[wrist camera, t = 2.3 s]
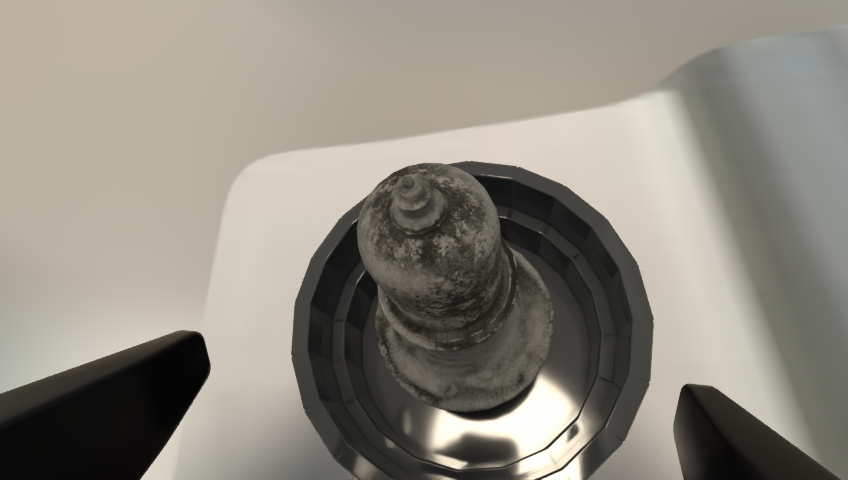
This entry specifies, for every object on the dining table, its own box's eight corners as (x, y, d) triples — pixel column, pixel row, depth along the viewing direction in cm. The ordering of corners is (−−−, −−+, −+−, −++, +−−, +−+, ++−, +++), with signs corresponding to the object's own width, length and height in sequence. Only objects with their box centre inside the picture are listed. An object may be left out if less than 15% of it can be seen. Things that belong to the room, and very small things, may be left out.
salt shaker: (418, 437, 16) (244, 428, 6) (385, 293, 19) (223, 102, 8) (570, 392, 16) (688, 296, 5) (516, 252, 19) (523, 1, 8)
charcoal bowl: (603, 545, 14) (638, 585, 10) (302, 449, 17) (238, 451, 13) (629, 238, 18) (662, 181, 14) (382, 202, 21) (351, 146, 17)
